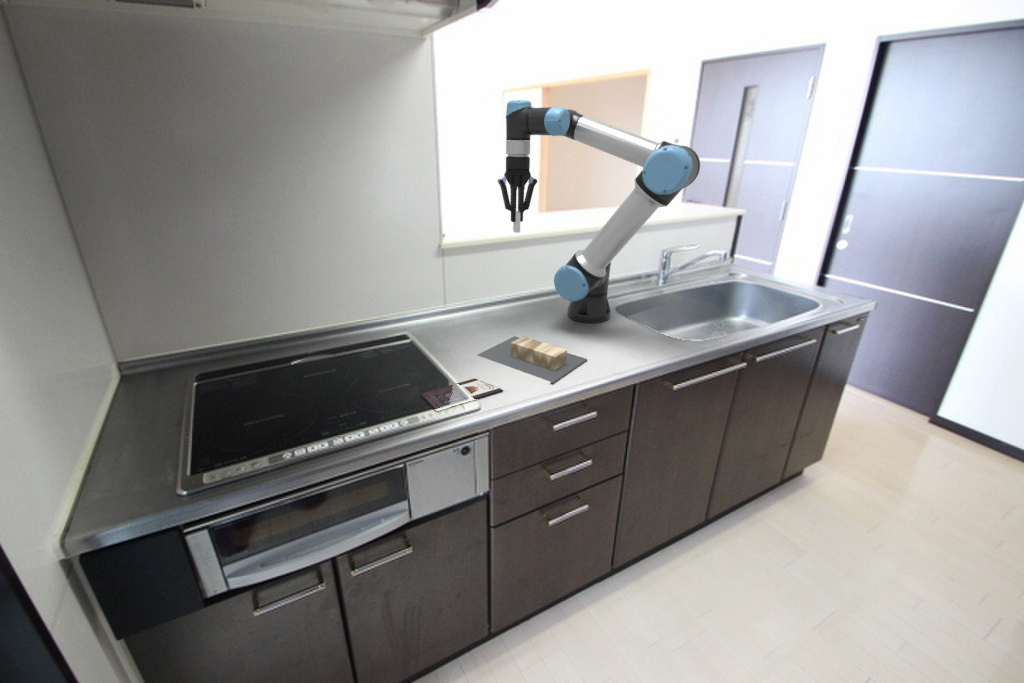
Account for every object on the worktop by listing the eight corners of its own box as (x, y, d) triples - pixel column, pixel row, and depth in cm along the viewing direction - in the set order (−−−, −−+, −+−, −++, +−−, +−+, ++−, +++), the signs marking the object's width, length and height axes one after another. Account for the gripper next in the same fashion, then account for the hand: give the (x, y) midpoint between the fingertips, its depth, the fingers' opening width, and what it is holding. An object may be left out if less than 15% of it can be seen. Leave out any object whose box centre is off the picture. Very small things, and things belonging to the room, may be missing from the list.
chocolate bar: (420, 393, 116) (484, 375, 125) (420, 396, 117) (484, 378, 126) (436, 410, 109) (502, 390, 119) (436, 413, 110) (502, 393, 119)
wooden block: (510, 342, 135) (555, 357, 127) (523, 336, 140) (567, 349, 132) (510, 355, 137) (554, 370, 129) (523, 348, 141) (566, 362, 133)
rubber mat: (476, 356, 137) (476, 354, 137) (514, 337, 150) (514, 336, 150) (552, 384, 123) (553, 382, 123) (587, 360, 136) (587, 359, 136)
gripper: (533, 155, 154) (531, 229, 163) (494, 155, 150) (494, 230, 160) (541, 156, 147) (539, 233, 157) (501, 156, 144) (501, 234, 153)
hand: (516, 231), depth 158 cm, fingers closed
